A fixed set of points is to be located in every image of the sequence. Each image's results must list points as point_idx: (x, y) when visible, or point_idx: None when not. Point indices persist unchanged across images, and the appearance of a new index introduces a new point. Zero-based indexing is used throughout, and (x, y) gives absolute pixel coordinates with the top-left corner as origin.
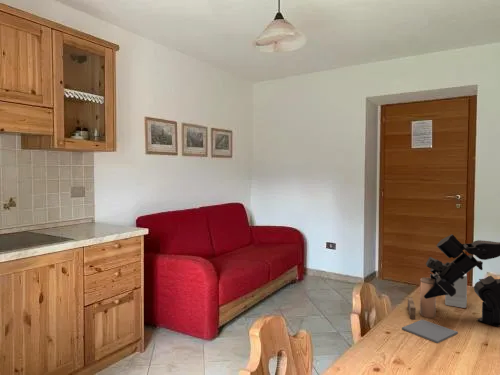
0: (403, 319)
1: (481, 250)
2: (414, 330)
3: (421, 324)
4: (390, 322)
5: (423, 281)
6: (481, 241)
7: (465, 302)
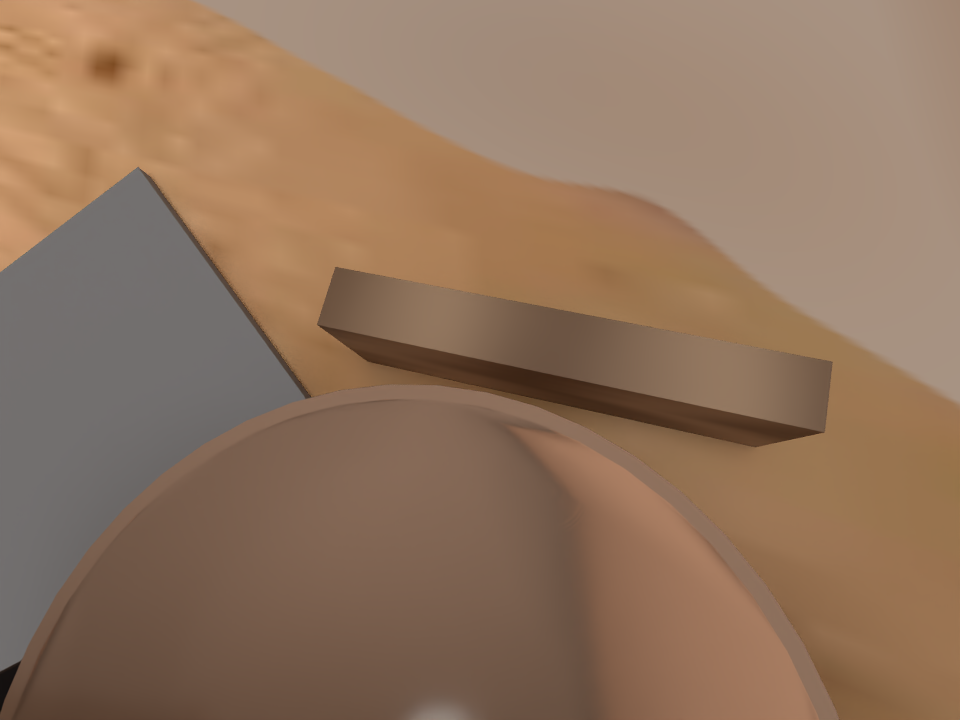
0: (367, 245)
1: None
2: (74, 255)
3: (192, 361)
4: (294, 118)
5: (226, 446)
6: None
7: None
